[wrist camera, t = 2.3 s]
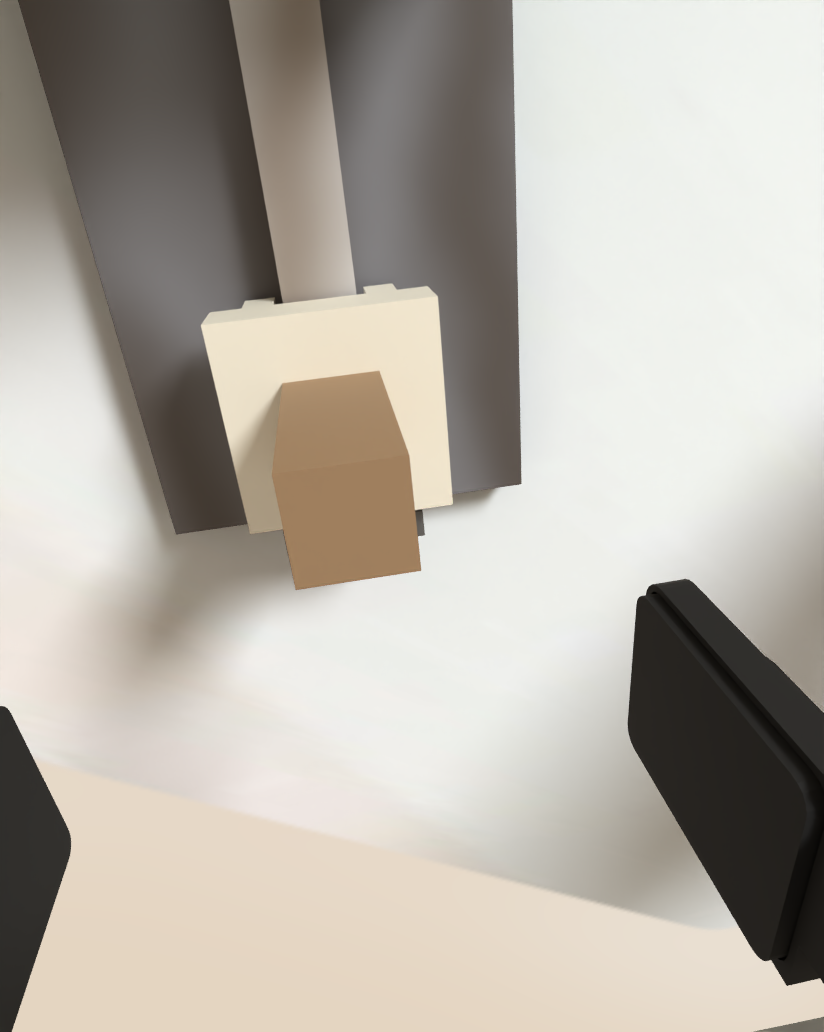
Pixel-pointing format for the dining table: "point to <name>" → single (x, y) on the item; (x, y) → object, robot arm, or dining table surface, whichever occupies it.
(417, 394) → the carriage
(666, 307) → the dining table surface
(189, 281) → the rail board
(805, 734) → the robot arm
